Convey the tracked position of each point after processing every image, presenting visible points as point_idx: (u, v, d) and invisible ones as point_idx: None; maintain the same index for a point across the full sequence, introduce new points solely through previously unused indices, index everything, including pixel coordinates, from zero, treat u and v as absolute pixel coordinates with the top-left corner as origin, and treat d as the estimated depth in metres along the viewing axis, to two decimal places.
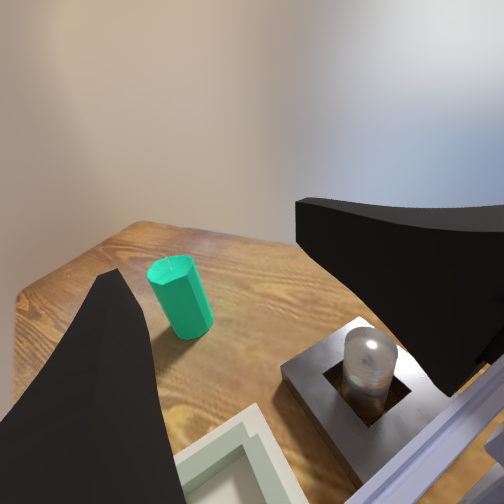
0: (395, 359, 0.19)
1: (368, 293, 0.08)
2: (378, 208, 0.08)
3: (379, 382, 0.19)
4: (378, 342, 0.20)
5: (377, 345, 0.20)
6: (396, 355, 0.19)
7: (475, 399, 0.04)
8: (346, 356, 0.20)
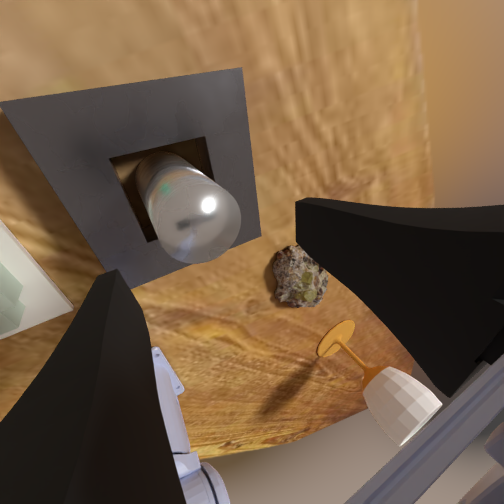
0: (220, 253, 0.12)
1: (368, 293, 0.08)
2: (378, 208, 0.08)
3: None
4: (218, 223, 0.12)
5: (212, 228, 0.12)
6: (226, 248, 0.12)
7: (475, 398, 0.04)
8: (154, 219, 0.11)
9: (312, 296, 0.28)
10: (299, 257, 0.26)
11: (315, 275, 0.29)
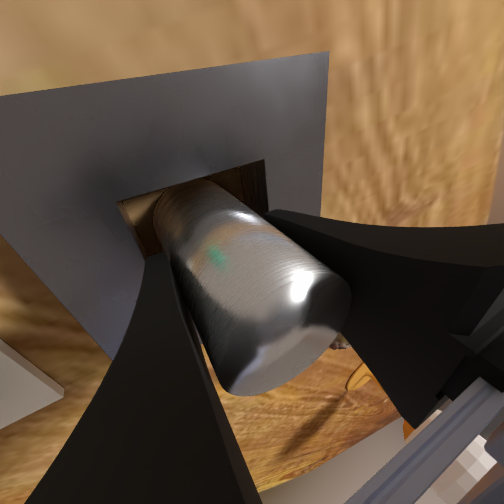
0: (307, 366, 0.07)
1: None
2: (341, 224, 0.07)
3: None
4: (315, 328, 0.06)
5: (307, 336, 0.06)
6: (316, 357, 0.07)
7: (475, 399, 0.04)
8: (206, 335, 0.06)
9: None
10: None
11: None
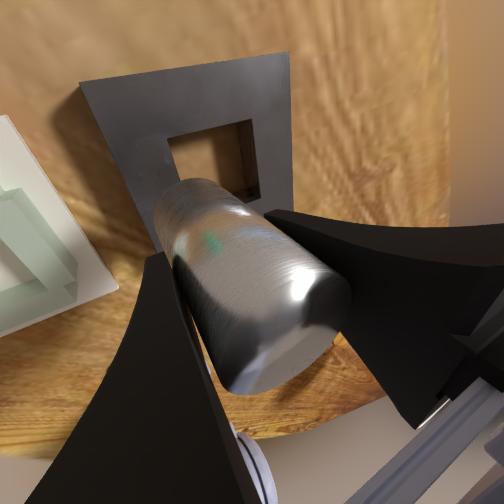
0: (308, 365, 0.07)
1: None
2: (341, 224, 0.07)
3: None
4: (316, 327, 0.06)
5: (307, 336, 0.06)
6: (317, 356, 0.07)
7: (475, 399, 0.04)
8: (206, 334, 0.06)
9: None
10: None
11: None
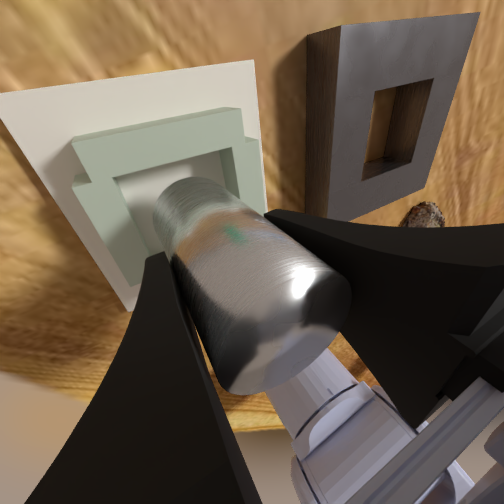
0: (307, 365, 0.07)
1: None
2: (341, 224, 0.07)
3: None
4: (315, 327, 0.06)
5: (306, 335, 0.06)
6: (316, 356, 0.07)
7: (475, 399, 0.04)
8: (205, 333, 0.06)
9: None
10: (436, 211, 0.27)
11: None
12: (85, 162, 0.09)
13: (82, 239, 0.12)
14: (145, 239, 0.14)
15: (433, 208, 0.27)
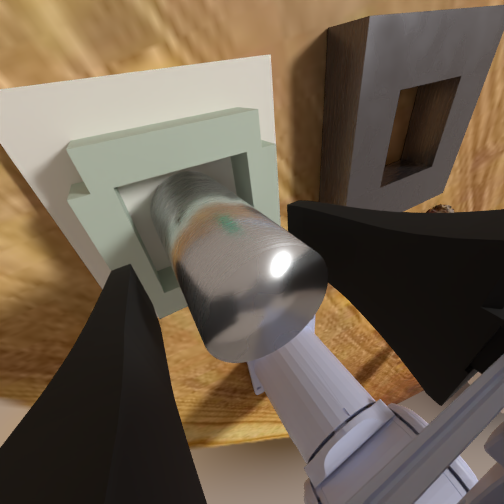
0: (290, 339, 0.08)
1: (360, 298, 0.08)
2: (369, 212, 0.07)
3: None
4: (294, 301, 0.07)
5: (286, 308, 0.07)
6: (298, 331, 0.08)
7: (475, 399, 0.04)
8: (193, 303, 0.06)
9: None
10: None
11: None
12: (82, 171, 0.08)
13: (80, 254, 0.11)
14: (149, 252, 0.13)
15: (450, 211, 0.26)
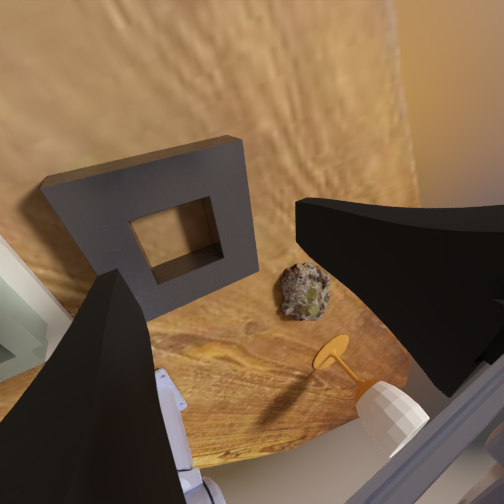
0: None
1: (368, 293, 0.08)
2: (378, 208, 0.08)
3: None
4: None
5: None
6: None
7: (474, 399, 0.04)
8: None
9: (315, 311, 0.30)
10: (305, 275, 0.28)
11: (319, 291, 0.31)
12: None
13: None
14: None
15: (301, 272, 0.28)
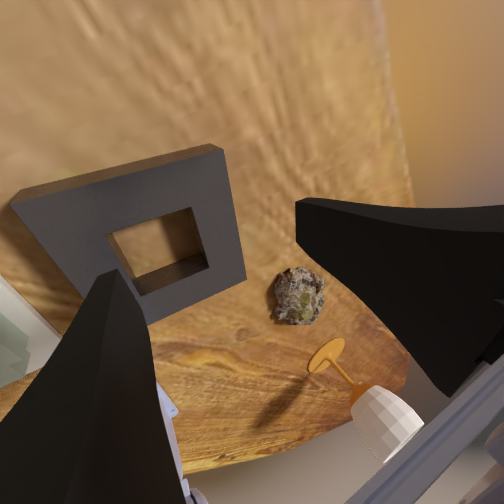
0: None
1: (368, 293, 0.08)
2: (378, 208, 0.08)
3: None
4: None
5: None
6: None
7: (475, 399, 0.04)
8: None
9: (309, 316, 0.30)
10: (298, 280, 0.28)
11: (312, 296, 0.31)
12: None
13: None
14: None
15: (294, 277, 0.27)
